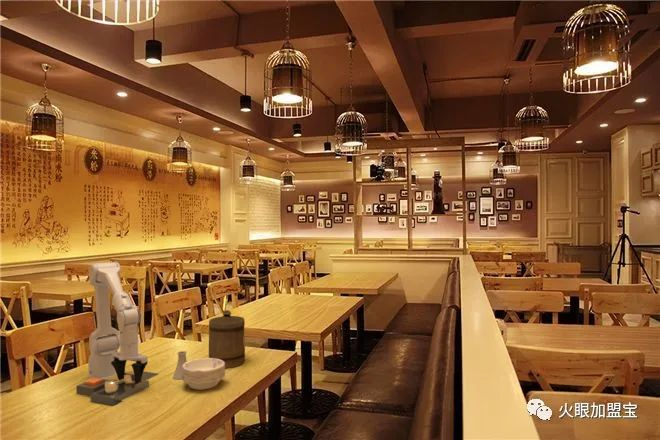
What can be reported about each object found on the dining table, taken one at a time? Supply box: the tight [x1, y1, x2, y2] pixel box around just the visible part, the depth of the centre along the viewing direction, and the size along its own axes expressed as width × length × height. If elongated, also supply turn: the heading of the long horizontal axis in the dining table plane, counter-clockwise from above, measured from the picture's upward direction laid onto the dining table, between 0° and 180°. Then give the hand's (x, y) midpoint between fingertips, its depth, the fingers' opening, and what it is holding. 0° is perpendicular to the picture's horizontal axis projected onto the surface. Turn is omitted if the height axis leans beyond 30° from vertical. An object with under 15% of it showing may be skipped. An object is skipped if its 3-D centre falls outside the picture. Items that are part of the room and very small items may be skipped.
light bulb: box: [105, 379, 119, 396], centre depth 153 cm, size 4×4×6 cm
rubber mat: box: [141, 370, 159, 381], centre depth 173 cm, size 9×9×1 cm
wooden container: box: [208, 309, 246, 369], centre depth 189 cm, size 15×15×22 cm
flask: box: [172, 350, 188, 381], centre depth 172 cm, size 7×7×10 cm
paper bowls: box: [181, 357, 226, 391], centre depth 165 cm, size 15×15×8 cm
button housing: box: [75, 378, 109, 398], centre depth 160 cm, size 8×8×3 cm
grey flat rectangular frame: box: [90, 379, 150, 407], centre depth 157 cm, size 10×16×2 cm, turn 159°
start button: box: [85, 377, 104, 386], centre depth 160 cm, size 4×4×3 cm
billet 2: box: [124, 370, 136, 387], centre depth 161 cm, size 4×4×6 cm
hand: (129, 380), depth 160 cm, fingers open, 7 cm apart
